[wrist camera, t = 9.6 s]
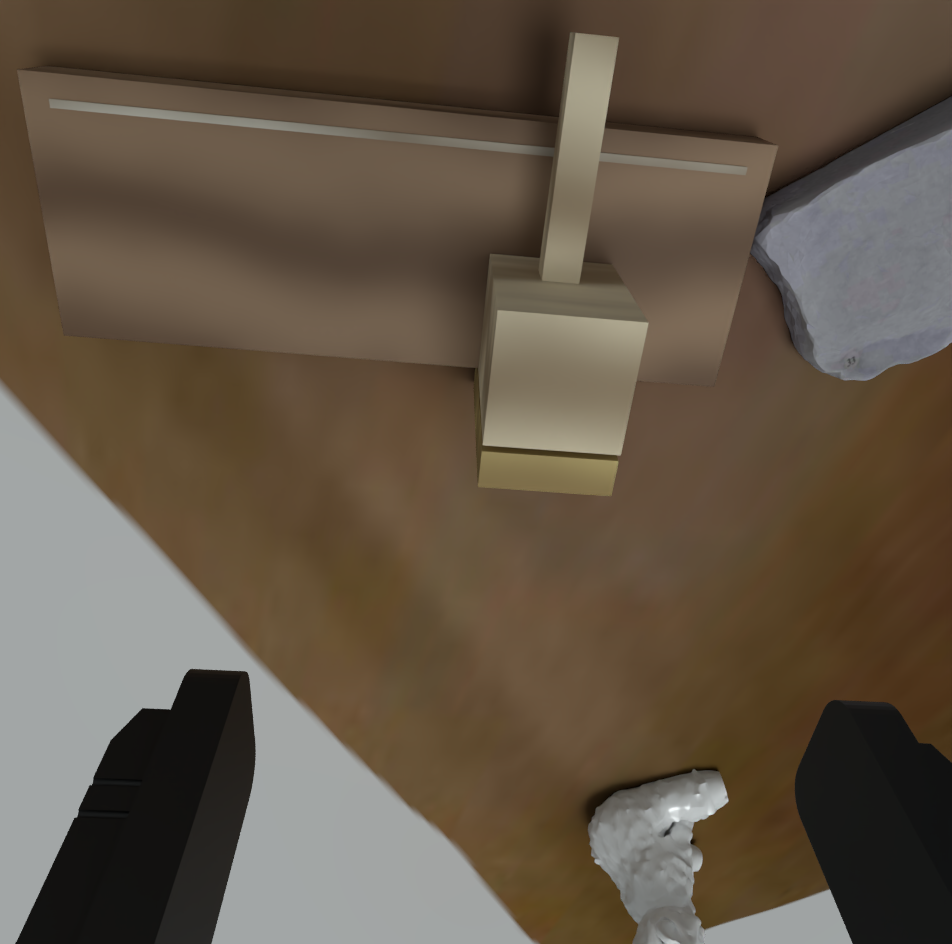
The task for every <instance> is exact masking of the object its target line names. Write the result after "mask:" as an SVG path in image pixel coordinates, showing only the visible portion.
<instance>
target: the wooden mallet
mask: <svg viewBox="0 0 952 944" xmlns="http://www.w3.org/2000/svg"><path fill="white" fill-rule="evenodd" d="M618 41H619V38H618V37H611V36H601V35H592V34H583V33H573V32H570V37H569V45H568V52H567V59H566V67H565V74H564V82H563V89H562V97H561V104H560V112H559V119H558V127H557V134H556V142H555V149H554V157H553V164H552V172H551V179H550V187H549V194H548V201H547V209H546V216H545V224H544V231H543V239H542V246H541V254H540V258H534V257H523V256H511V255H500V254H490V258H489V268H488V278H487V288H486V298H485V307H484V317H483V327H482V337H481V347H480V356H479V366H478V368H475V378H474V409H475V432H476V455H477V478H478V487H486V488H500V489H515V490H529V491H544V492H558V493H572V494H587V495H601V496H611V495H612V490H613V486H614V481H615V476H616V471H617V467H618V462H619V461H618V458H617V455H621V451H622V447H623V442H624V437H625V432H626V428H627V423H628V418H629V414H630V409H631V404H632V399H633V395H634V390H635V385H636V380H637V376H638V371H639V366H640V362H641V357H642V352H643V347H644V343H645V338H646V333H647V328H648V324H649V322H648V321H647V319H646V318H645V316H644V314H643V313H642V311H641V310H640V308H639V306H638V305H637V303H636V302H635V300H634V298H633V297H632V295H631V293H630V292H629V290H628V289H627V287H626V285H625V284H624V282H623V281H622V279H621V277H620V276H619V274H618V273H617V271H616V269H615V268H614V266H613V264H602V263H590V262H583V258H584V251H585V245H586V239H587V233H588V227H589V220H590V214H591V208H592V202H593V196H594V189H595V183H596V177H597V171H598V165H599V158H600V152H601V146H602V140H603V134H604V127H605V121H606V115H607V109H608V103H609V96H610V90H611V84H612V78H613V72H614V65H615V59H616V53H617V47H618Z"/></svg>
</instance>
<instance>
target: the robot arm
mask: <svg viewBox="0 0 952 944" xmlns="http://www.w3.org/2000/svg"><path fill="white" fill-rule="evenodd" d="M254 768H255V736H254V725H253V714H252V703H251V691H250V681H249V676H248V673H247V672H245V671H222V670H201V669H190V670H189V671H188V672H187V673H186V675H185V676H184V678H183V681H182V683H181V686H180V688H179V690H178V693H177V696H176V698H175V701H174V703H173V705H172V708H171V710H169V709H168V710H167V709H145V708H143V709H141V711H139V712H138V714H137V715H136V716H134V717H133V718H132V720H130V722H129V723H128V724H127V725H126V726H125V727H124V728H123V729H122V730H121V731H120V732H119V733H118V734H117V735H116V736H115V737H114V738H113V739H112V740H111V741H110V744H109V745H108V748H107V750H106V752H105V754H104V756H103V758H102V761H101V763H100V765H99V767H98V769H97V771H96V773H95V775H94V780H93V784H92V786H91V785H90V786H89V788H88V790H87V792H86V795H85V797H84V799H83V801H82V803H81V805H80V807H79V813H78V817H77V818H74V820H73V822H72V825H71V827H70V829H69V831H68V833H67V836H66V837H65V840H64V842H63V844H62V846H61V848H60V850H59V852H58V854H57V857H56V859H55V861H54V863H53V865H52V867H51V869H50V872H49V874H48V876H47V878H46V880H45V882H44V885H43V887H42V889H41V891H40V893H39V895H38V897H37V899H36V902H35V904H34V906H33V908H32V910H31V912H30V914H29V917H28V919H27V921H26V923H25V925H24V927H23V929H22V931H21V934H20V936H19V938H18V940H17V942H16V943H15V944H211V943H212V939H213V935H214V931H215V928H216V924H217V920H218V916H219V912H220V908H221V905H222V901H223V897H224V893H225V889H226V885H227V882H228V878H229V874H230V870H231V866H232V862H233V859H234V855H235V851H236V847H237V843H238V839H239V836H240V832H241V828H242V824H243V820H244V817H245V813H246V809H247V805H248V801H249V797H250V793H251V789H252V783H253V776H254ZM795 797H796V804H797V809H798V812H799V815H800V818H801V821H802V823H803V826H804V828H805V830H806V833H807V835H808V838H809V840H810V842H811V845H812V847H813V849H814V852H815V854H816V857H817V859H818V861H819V864H820V866H821V869H822V871H823V873H824V876H825V878H826V881H827V883H828V885H829V888H830V890H831V893H832V895H833V897H834V900H835V902H836V905H837V907H838V909H839V912H840V914H841V917H842V919H843V921H844V924H845V926H846V929H847V931H848V933H849V936H850V938H851V941H852V943H853V944H952V763H951V762H950V761H949V760H948V759H947V758H946V757H944V756H943V755H942V754H941V753H940V752H939V751H938V750H937V749H936V748H935V747H934V746H933V745H931V744H923V743H918V741H917V740H916V738H915V736H914V735H913V733H912V732H911V730H910V728H909V727H908V725H907V723H906V722H905V720H904V719H903V717H902V715H901V714H900V713H899V711H898V710H897V709H896V708H895V707H894V706H893V705H891V704H889V703H885V702H864V701H842V700H833V701H831V702H829V703H828V704H827V705H826V707H825V709H824V710H823V713H822V715H821V717H820V720H819V722H818V724H817V726H816V729H815V731H814V733H813V735H812V738H811V740H810V742H809V744H808V747H807V749H806V751H805V754H804V756H803V758H802V760H801V763H800V765H799V767H798V770H797V773H796V779H795Z"/></svg>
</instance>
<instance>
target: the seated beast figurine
mask: <svg viewBox="0 0 952 944" xmlns="http://www.w3.org/2000/svg"><path fill="white" fill-rule="evenodd" d="M727 802H728V797H727V793H726V789H725V786H724V783H723V780H722V777H721V775H720V773H719V771H713V770H703V771H696V770H695V769H693V770H692V772H691V773H688V774H681V775H677V776H673V777H670V778H666V779H662V780H658V781H655V782H651V783H647V784H642V785H641V786H640V787H635V788H630V789H625V790H620V791H617V792H615V793H614V794H613V795H612V796H611V797H608V799H607V800H606V801H605V802H604V803H603V804H602V805H601V806H599V807H596V810H595V815H594V816H593V817H592V821H591V822H590V823H589V825H588V833H589V837H590V843H589V844H590V846H591V847H592V851H591V855H592V856H593V857H594V858H595V861H594V862H595V863H596V864H599V865H600V866H601V868H602V869H603V870H604V871H606V872H607V873H608V874H609V875H610V877H611V878H612V881H614V882H615V883H616V885H617V888H618V889H620V892H621V896H620V897H621V900H622V901H623V903H624V905H625V908H626V909H627V910H628V913H629V914H630V915H631V916H632V917H633V919H634V921H636V922H637V923H638V929H637V933H636V935H635V937H634V939H633V944H704V938H705V930H704V929H703V928H702V927H701V926H700V925H701V921H700V919H699V918H698V917H696V916H695V915H694V913H695V912H696V910H695V907H694V905H693V903H692V901H691V896H692V895H693V893H692V891H693V883H694V877H693V875H694V874H693V872H694V871H698V870H699V869H700V867H701V865H702V861H703V857H702V853H701V851H700V849H699V848H698V847H696V846H694V845H692V844H690V841H691V839H692V836H693V834H692V832H691V831H692V828H693V825H694V822H697V821H698V820H700V819H706V818H707V817H708V816H709V815H712V814H714V813H715V812H716V810H717V809H719V808H721V807H723V806H724V805H725V804H726V803H727Z"/></svg>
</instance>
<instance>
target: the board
mask: <svg viewBox="0 0 952 944" xmlns="http://www.w3.org/2000/svg"><path fill="white" fill-rule="evenodd" d="M17 73H18V79H19V84H20V90H21V96H22V101H23V107H24V113H25V118H26V124H27V130H28V135H29V141H30V147H31V152H32V158H33V163H34V169H35V175H36V180H37V186H38V192H39V197H40V203H41V209H42V214H43V220H44V226H45V231H46V237H47V243H48V248H49V254H50V260H51V265H52V271H53V277H54V282H55V288H56V294H57V299H58V305H59V311H60V316H61V322H62V328H63V333H64V335H66V336H79V337H91V338H104V339H117V340H129V341H142V342H155V343H167V344H180V345H192V346H205V347H218V348H230V349H243V350H256V351H268V352H281V353H293V354H306V355H319V356H331V357H344V358H357V359H369V360H382V361H394V362H407V363H420V364H432V365H445V366H458V367H470V368H478V366H479V356H480V347H481V337H482V327H483V317H484V307H485V298H486V288H487V278H488V268H489V258H490V254H500V255H511V256H523V257H534V258H540V254H541V246H542V239H543V231H544V224H545V216H546V209H547V201H548V194H549V187H550V179H551V172H552V164H553V157H554V149H555V142H556V134H557V127H558V119H559V117H552V116H542V115H532V114H522V113H512V112H502V111H492V110H482V109H472V108H462V107H452V106H442V105H432V104H422V103H412V102H403V101H393V100H383V99H373V98H363V97H353V96H343V95H333V94H323V93H313V92H303V91H293V90H283V89H273V88H263V87H253V86H243V85H233V84H223V83H213V82H203V81H193V80H183V79H173V78H163V77H154V76H144V75H134V74H124V73H114V72H104V71H94V70H84V69H74V68H64V67H54V66H42V67H34V68H26V69H18V70H17ZM777 149H778V145H776V144H773V143H771V142H768V141H766V140H763V139H761V138H758V137H751V136H741V135H731V134H721V133H711V132H701V131H691V130H681V129H671V128H661V127H652V126H642V125H632V124H622V123H612V122H605V127H604V134H603V140H602V146H601V152H600V158H599V165H598V171H597V177H596V183H595V189H594V196H593V202H592V208H591V214H590V220H589V227H588V233H587V239H586V245H585V251H584V258H583V262H590V263H602V264H613V266H614V268H615V269H616V271H617V273H618V274H619V276H620V277H621V279H622V281H623V282H624V284H625V285H626V287H627V289H628V290H629V292H630V293H631V295H632V297H633V298H634V300H635V302H636V303H637V305H638V306H639V308H640V310H641V311H642V313H643V314H644V316H645V318H646V319H647V321H648V322H649V324H648V328H647V333H646V338H645V343H644V347H643V352H642V357H641V362H640V366H639V371H638V376H637V380H636V381H647V382H660V383H672V384H685V385H698V386H710V387H714V386H715V382H716V378H717V375H718V371H719V367H720V363H721V360H722V356H723V352H724V348H725V345H726V341H727V337H728V333H729V330H730V326H731V322H732V318H733V314H734V311H735V307H736V303H737V299H738V296H739V292H740V288H741V284H742V281H743V277H744V273H745V269H746V266H747V262H748V258H749V254H750V251H751V247H752V243H753V239H754V236H755V232H756V228H757V224H758V221H759V217H760V213H761V209H762V205H763V202H764V198H765V194H766V190H767V187H768V183H769V179H770V175H771V172H772V168H773V164H774V160H775V157H776V153H777Z"/></svg>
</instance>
